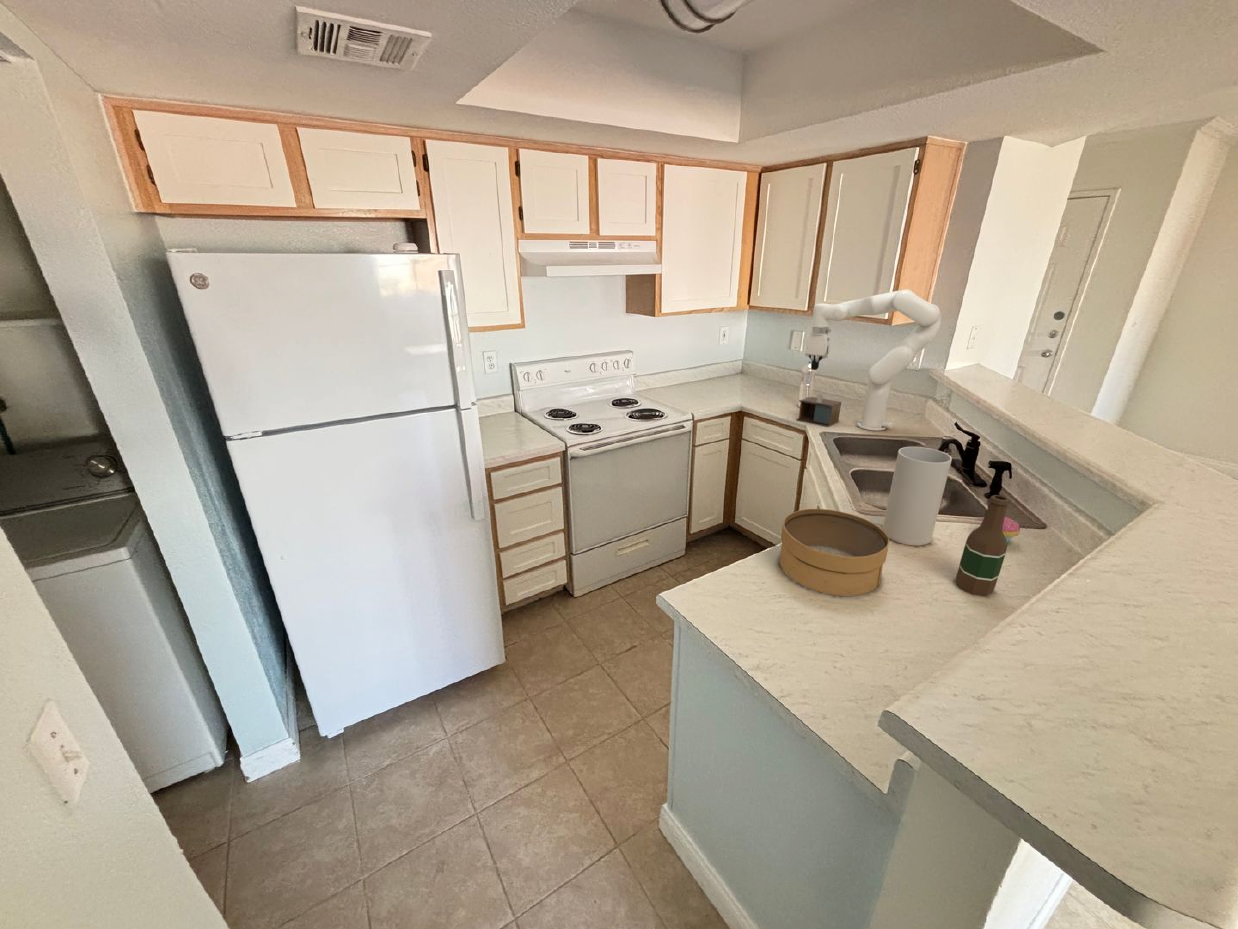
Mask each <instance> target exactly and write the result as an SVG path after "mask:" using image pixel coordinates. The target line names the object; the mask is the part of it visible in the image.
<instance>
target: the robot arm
mask: <svg viewBox="0 0 1238 929" xmlns="http://www.w3.org/2000/svg"><path fill="white" fill-rule="evenodd" d="M940 310H941V309H940V308H939V306H938V305H937V304H935V303H930V302H928V301H926V300H925V299H923V298H922V297H920V296H918V295H917V294H915V292H914V291H913V290H911V289H907V288H905V289H900V290H899V289H898V290H894V291H889V292H884V293H879V294H874V295H869V296H867V297H863V298H857V299H852V300H848V301H843V302H839V303H835V304H830V303H825V302H824V303H823V302H822V303H821V302H819V303H816V304H814V306H813V312H812V313H813V314H812V321H811V322H812V323H811V329H810V332H809V334H808V337H807V339H806V345H805V354H804V356H805V357H807V358H809V359H810V361H812V364H811V368H812V370H816V371H817V370H818V369H819V367H820V362H821V360H824V359H828V357H829V356H828V355H829V354H830V348H831V347H830V346H831V335H830V333H831V332H832V329H831V328H830V321H834V322H841V321H843V320H845V319H848V318H854V317H855V318H856V317H861V316H879V315H882V314H883V315H884V314H889V313H894V312H899V313H900V314H902V315H903V316H905V317H906V318H908V319H910V320H912V321H913V322H915V323H916V324H917V325H916V326H915V327H914V329H913V330H911V332H909V333H908V334H907V335H906V336H905V337H904V338H903V339H901V341H899V342H898V343H897V344H895V345H894V346H893V347H892V348H891V349H890V351H889V352H888V353H887V354H885V355H884V356H883V357H882V358H881V359H880V360H877V361H875V362H874V363H873V364H872V365H871V367H870V368H869V371H868V374H867V375H868V381H867V387H866V392H865V398H864V405H863V410H862V415H861V420H860V421H858V422H857V423H856V426H857V427H858V428H860V429H862V430H866V431H867V430H868V431H874V432H875V431H876V432H877V431H884V430H886V429H887V428H890V429H893V425H894V424H893V422H890V421H887V418H885V416H886V411H887V406H888V401H889V397H890V392H891V386H892V382H893V379H894V378H895V377H896V376H898V374H900V373H901V372H902V371H903V370H905V369H906V368H907V367H908V366H909V365H910V364H911V363H912V362H913V360H914V358H915V356H916V355H917V354H918V353H920V351H922V350H923V349H924V348H925V347H926V346H927V345H928V344H930V342H932V340H933V339H935V337H936V336H937V334H938V333H939V330H940V328H941V324H942V314H941V311H940Z"/></svg>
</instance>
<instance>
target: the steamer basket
mask: <svg viewBox="0 0 1238 929" xmlns="http://www.w3.org/2000/svg"><path fill="white" fill-rule="evenodd" d="M780 539H781V546H780V553H779V565H780V567H781V570H783V572H784V573H785V574H786V575H787V576H788V577H789V578H790V579H792V580H793V581H795V582H796V583H798V584H800V585H801V586H803V587H805V588H808V589H810V590H813V591H816V592H820V593H822V594H827V595H833V596H841V597H855V596H860V595H864V594H867V593H871V592H872V591H874V590H875V589H876V588H878V587H879V585H880V584H881V579H882V574H883V573H882V572H883V566H884V564H886V561H887V557H888V552H889V548H890V547H889V546H890V538H889V537H888V535H887V534H886V533H885V532H884V531H883V530H882V528H881V527H880V526H878V525H877V524H875V523H873V522H871V521H869V520H867V519H865V518H863V517H861V516H858V515H855V514H851V513H848V512H844V511H839V510H834V509H826V508H807V509H800V510H796V511H793V512H791V513H789V514H788V515H786V516H785V518H784V519H783V521H782V527H781V535H780ZM821 546H822V547H821ZM827 547H828V548H827ZM817 548H818V549H817ZM826 548H827V551H826ZM833 548H834V549H833ZM838 552H839V553H838Z"/></svg>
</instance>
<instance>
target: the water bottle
mask: <svg viewBox="0 0 1238 929" xmlns="http://www.w3.org/2000/svg"><path fill="white" fill-rule="evenodd" d="M811 364H812V361H811V360H808V361H807V364H805V365H804V366H803V368H802V370H801V380H800V386H799V393H798V402H797V406H798V408H800V404H801V402H799V400H803V399H805V398H808V397H813V396H814V395H813V394H814V388H815V378H816V372H817V370H812V368H811Z"/></svg>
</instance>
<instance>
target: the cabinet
mask: <svg viewBox="0 0 1238 929" xmlns="http://www.w3.org/2000/svg"><path fill="white" fill-rule="evenodd" d="M798 401H799V402H801V404H800V407H799V412H798V418H796V421H799V422H804V423H809V424H813V425H817V426H822V427H827V428H828V427H830V426H832V425H835V424H837V423H838V422H839V421H840V416H841V415H840V414H841V408H842V401H838V400H833V399H826V398H822V403H823V404H828V405H823V404H818V403H816V401H817V396H816V397H815V396H812V397H808V398H805V399H803V400H799V399H798ZM816 405H820V406H826V407H831V406H829V405H832V410H831V416H830V423H829V424H825V423H820V422H815V421H813V420H814V413H815V406H816Z"/></svg>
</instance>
